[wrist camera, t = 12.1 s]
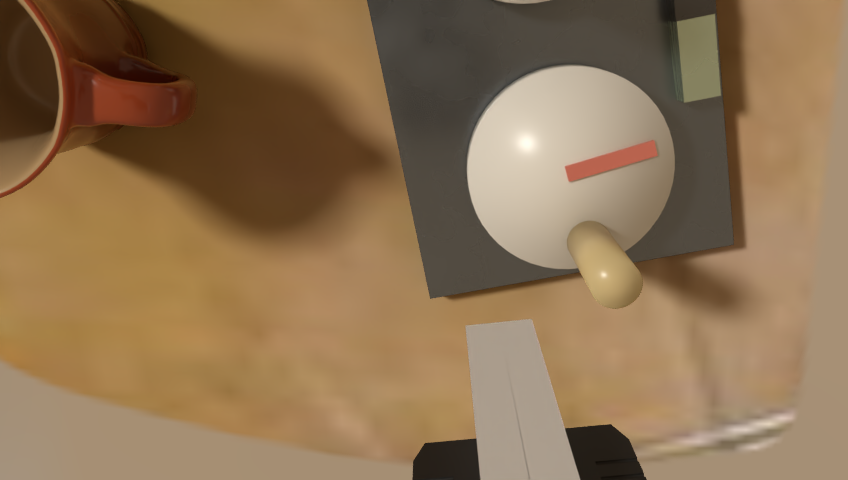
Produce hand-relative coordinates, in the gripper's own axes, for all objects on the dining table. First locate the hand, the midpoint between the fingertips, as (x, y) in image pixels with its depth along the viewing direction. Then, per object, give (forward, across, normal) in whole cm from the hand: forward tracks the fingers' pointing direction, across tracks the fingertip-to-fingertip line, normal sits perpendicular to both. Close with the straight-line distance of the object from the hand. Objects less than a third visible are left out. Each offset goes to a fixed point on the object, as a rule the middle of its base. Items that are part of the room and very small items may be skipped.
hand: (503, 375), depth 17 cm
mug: (+20, -16, +7) cm, 27 cm away
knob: (+19, +5, 0) cm, 19 cm away
